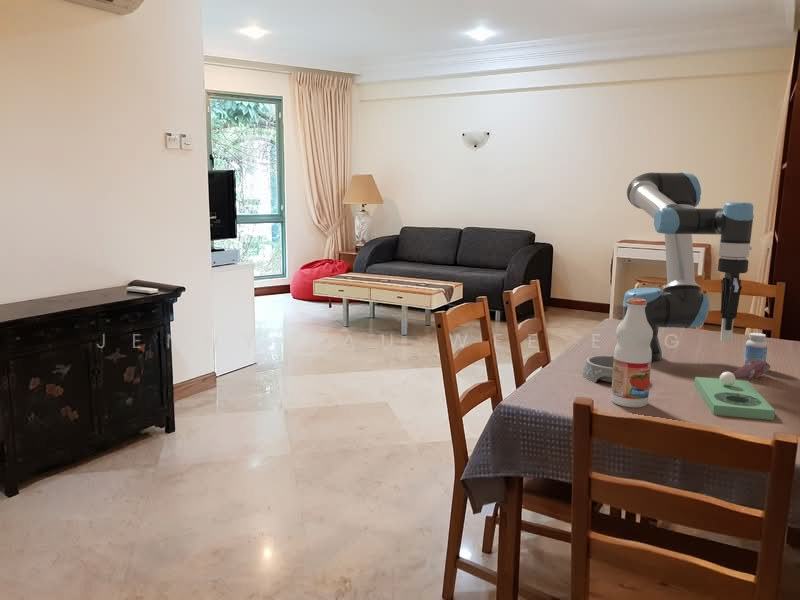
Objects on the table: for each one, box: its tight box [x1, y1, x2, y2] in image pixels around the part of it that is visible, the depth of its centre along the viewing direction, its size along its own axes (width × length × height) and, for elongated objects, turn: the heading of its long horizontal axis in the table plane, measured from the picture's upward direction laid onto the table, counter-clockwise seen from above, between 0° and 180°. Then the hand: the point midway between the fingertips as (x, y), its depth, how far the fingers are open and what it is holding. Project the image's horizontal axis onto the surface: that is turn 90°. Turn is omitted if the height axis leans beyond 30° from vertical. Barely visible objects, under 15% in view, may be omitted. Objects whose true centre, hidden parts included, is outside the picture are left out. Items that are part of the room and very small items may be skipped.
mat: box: [693, 376, 776, 421], centre depth 178 cm, size 26×14×2 cm, turn 166°
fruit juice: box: [610, 298, 653, 409], centre depth 173 cm, size 9×9×28 cm
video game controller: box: [733, 360, 771, 380], centre depth 200 cm, size 10×5×7 cm, turn 114°
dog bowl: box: [581, 355, 614, 384], centre depth 198 cm, size 17×18×5 cm
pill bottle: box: [743, 332, 768, 366], centre depth 210 cm, size 6×6×11 cm
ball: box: [719, 371, 737, 386], centre depth 183 cm, size 4×4×4 cm
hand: (725, 340), depth 187 cm, fingers closed
